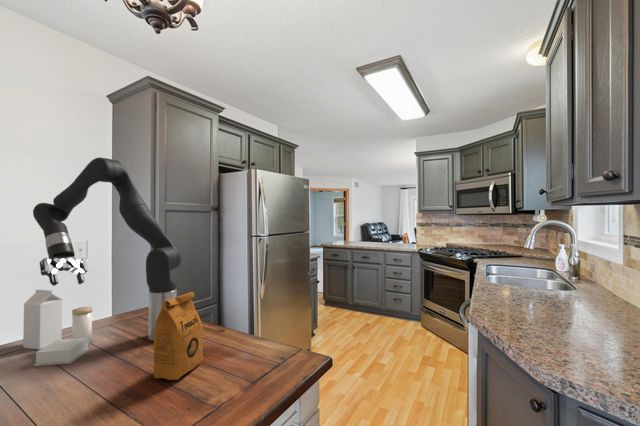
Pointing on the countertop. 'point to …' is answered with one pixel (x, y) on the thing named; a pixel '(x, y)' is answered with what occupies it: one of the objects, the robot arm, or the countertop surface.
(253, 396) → the countertop surface
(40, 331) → the milk carton
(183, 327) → the coffee package
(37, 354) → the riser
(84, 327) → the jar
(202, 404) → the countertop surface
